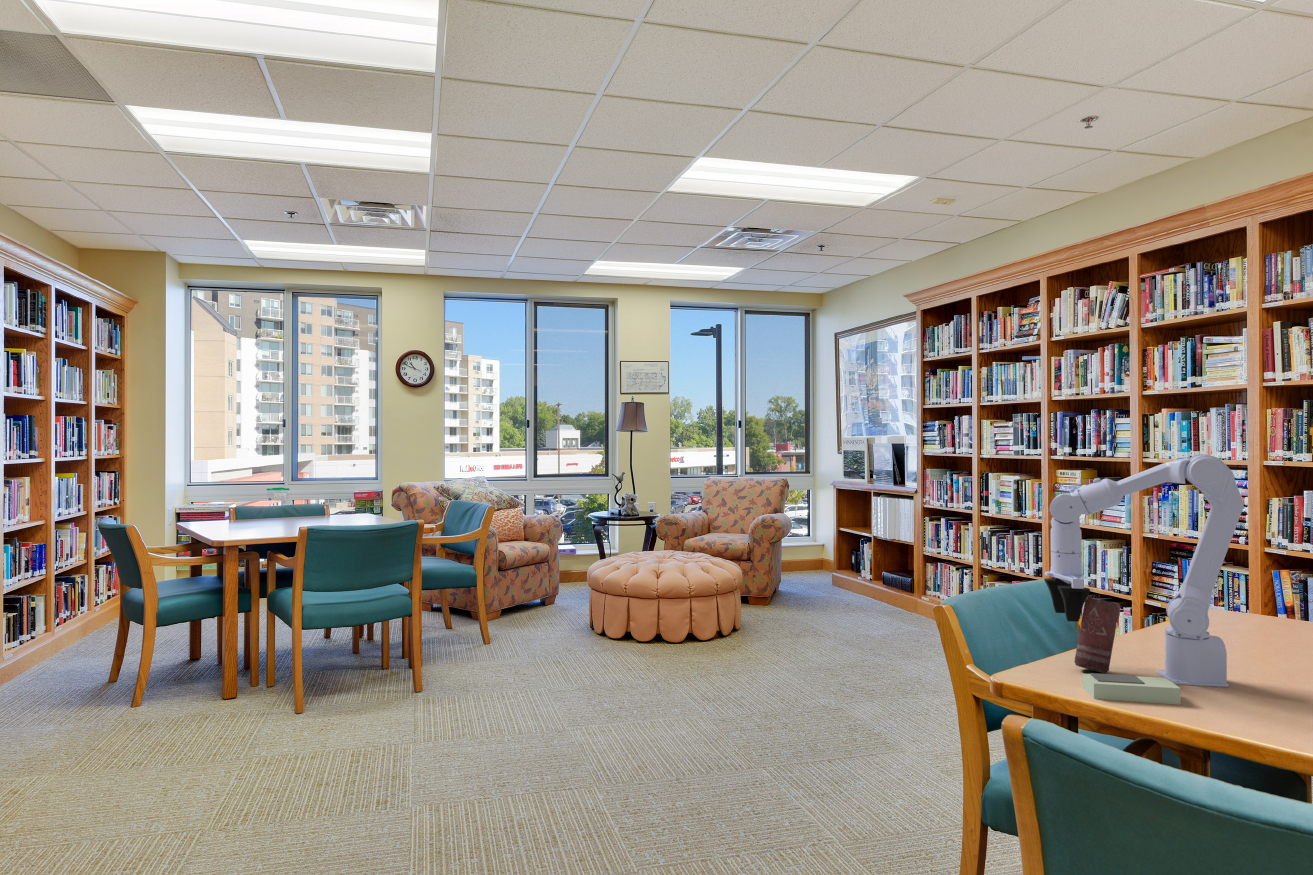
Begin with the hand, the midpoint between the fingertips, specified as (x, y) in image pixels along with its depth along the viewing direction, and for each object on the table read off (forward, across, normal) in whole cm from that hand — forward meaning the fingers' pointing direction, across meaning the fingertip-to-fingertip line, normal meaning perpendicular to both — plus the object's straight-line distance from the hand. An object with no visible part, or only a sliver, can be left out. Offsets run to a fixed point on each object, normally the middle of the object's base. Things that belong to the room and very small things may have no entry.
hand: (1066, 616), depth 162 cm
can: (+9, +6, +3) cm, 11 cm away
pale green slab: (+10, +20, +4) cm, 23 cm away
